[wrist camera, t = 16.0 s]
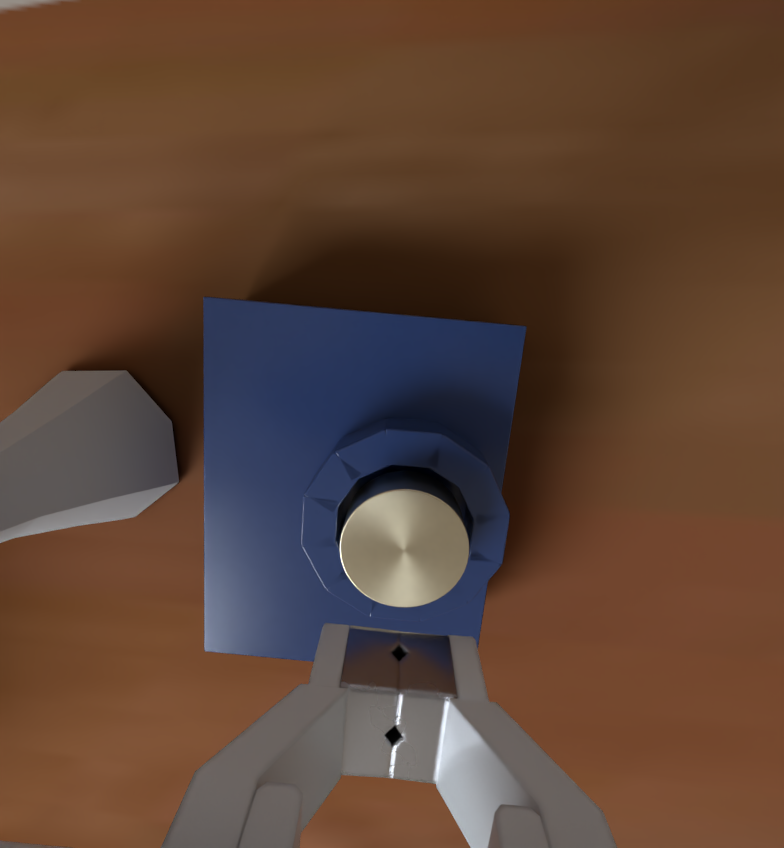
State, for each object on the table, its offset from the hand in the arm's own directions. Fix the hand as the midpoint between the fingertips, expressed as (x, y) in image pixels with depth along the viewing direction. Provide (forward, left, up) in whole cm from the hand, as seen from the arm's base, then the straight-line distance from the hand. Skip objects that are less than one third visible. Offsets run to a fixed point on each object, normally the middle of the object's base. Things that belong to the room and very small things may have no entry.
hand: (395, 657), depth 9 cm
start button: (0, 0, -7) cm, 7 cm away
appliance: (0, -2, -13) cm, 13 cm away
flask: (0, -14, -13) cm, 19 cm away
